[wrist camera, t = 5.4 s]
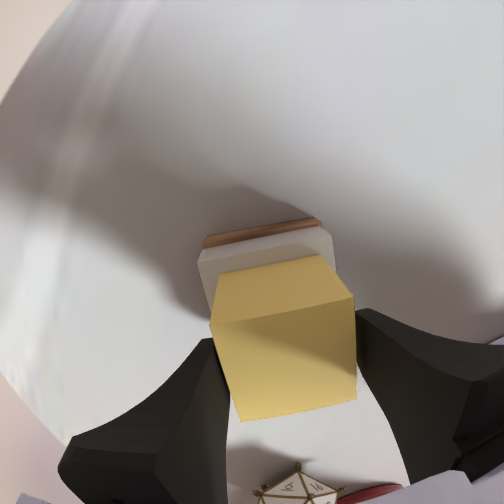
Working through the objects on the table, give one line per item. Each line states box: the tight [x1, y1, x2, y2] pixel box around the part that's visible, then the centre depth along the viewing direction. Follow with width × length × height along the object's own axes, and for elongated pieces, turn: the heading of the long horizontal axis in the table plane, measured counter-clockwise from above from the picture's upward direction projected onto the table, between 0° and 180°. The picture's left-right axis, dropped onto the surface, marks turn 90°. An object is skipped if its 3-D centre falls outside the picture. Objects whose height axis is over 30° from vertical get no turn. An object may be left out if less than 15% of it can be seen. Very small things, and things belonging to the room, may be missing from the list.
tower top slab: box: [197, 226, 337, 314], centre depth 15 cm, size 6×6×2 cm
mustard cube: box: [209, 254, 357, 422], centre depth 12 cm, size 4×4×4 cm
